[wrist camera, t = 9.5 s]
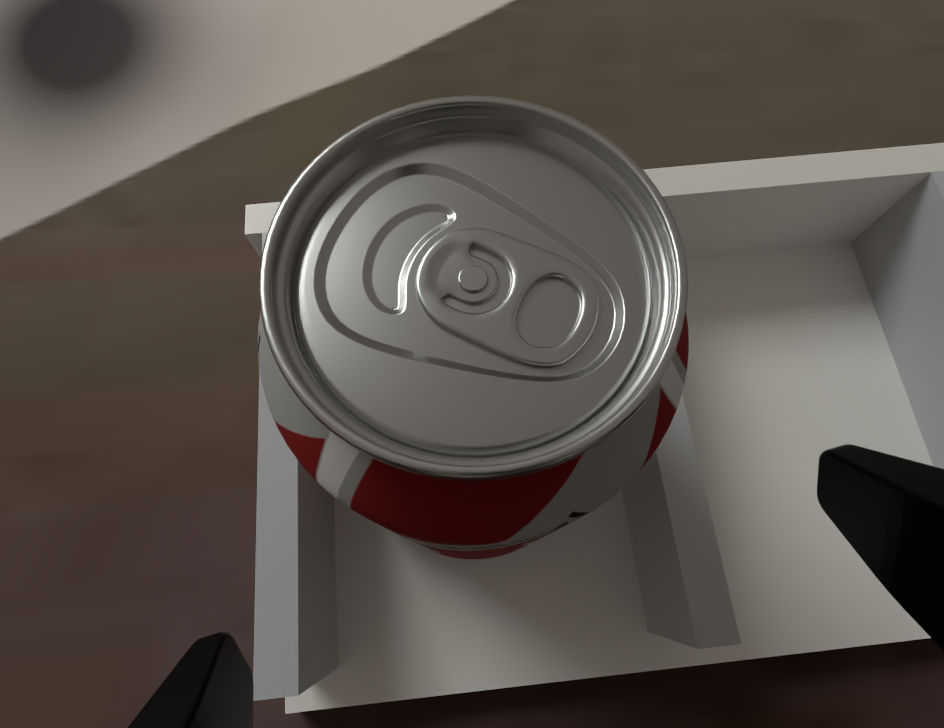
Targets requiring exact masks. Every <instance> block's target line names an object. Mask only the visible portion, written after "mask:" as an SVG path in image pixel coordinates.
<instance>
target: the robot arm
mask: <svg viewBox="0 0 944 728" xmlns="http://www.w3.org/2000/svg"><path fill="white" fill-rule="evenodd" d="M817 498H818V501H819V504H820V506H821V507H822V509H823V510H824V512H825V513H826V514H827V516H828V517H829V518H830V519H831V521H832V522H833V523H834V524H835V526H836V527H837V528H838V530H839V531H840V532H841V533H842V535H843V536H844V537H845V538H846V540H847V541H848V542H849V543H850V545H851V546H852V547H853V548H854V550H855V551H856V552H857V554H858V555H859V556H860V557H861V559H862V560H863V561H864V562H865V564H866V565H867V566H868V567H869V569H870V570H871V571H872V572H873V574H874V575H875V576H876V578H877V579H878V580H879V581H880V582H881V584H882V585H883V586H884V587H885V588H886V590H887V591H888V592H889V593H890V594H891V595H892V597H893V598H894V599H895V600H896V601H897V602H898V603H899V604H900V605H901V606H902V608H903V609H904V610H905V611H906V612H907V613H908V614H909V615H910V616H911V617H912V618H913V619H914V620H915V621H916V622H917V623H918V624H919V626H920V627H921V628H922V629H923V630H924V631H925V632H926V633H927V634H928V635H929V636H930V637H931V638H932V639H933V640H934V641H935V642H936V643H937V644H938V645H939V647H940V648H941V649H942V650H943V651H944V469H942V468H938V467H934V466H931V465H927V464H923V463H919V462H916V461H912V460H908V459H904V458H901V457H897V456H893V455H889V454H886V453H882V452H878V451H874V450H871V449H867V448H863V447H859V446H856V445H851V444H846V445H841V446H838V447H834V448H831V449H828V450H825V451H824V452H822V454H821V455H820V457H819V465H818V480H817ZM253 693H254V685H253V677H252V673H251V670H250V667H249V665H248V664H247V662H246V660H245V658H244V656H243V654H242V653H241V651H240V649H239V647H238V645H237V644H236V642H235V640H234V638H233V637H232V635H231V634H230V633H228V632H219V633H216V634H213V635H210V636H206V637H203V638H200V639H198V640H197V641H196V642H194V644H193V645H192V646H191V647H190V648H189V650H188V651H187V652H186V653H185V655H184V656H183V657H182V659H181V660H180V661H179V662H178V664H177V665H176V666H175V668H174V669H173V670H172V671H171V673H170V674H169V675H168V677H167V678H166V679H165V680H164V682H163V683H162V684H161V686H160V687H159V688H158V689H157V691H156V692H155V693H154V695H153V696H152V697H151V698H150V700H149V701H148V702H147V704H146V705H145V706H144V707H143V709H142V710H141V711H140V713H139V714H138V715H137V716H136V718H135V719H134V720H133V721H132V723H131V724H130V725H129V727H128V728H253Z"/></svg>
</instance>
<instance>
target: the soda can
mask: <svg viewBox="0 0 944 728" xmlns="http://www.w3.org/2000/svg"><path fill="white" fill-rule="evenodd" d="M687 296H688V278H687V266H686V259H685V253H684V249H683V245H682V241H681V237H680V234H679V231H678V229H677V226H676V223H675V220H674V218H673V216H672V214H671V212H670V210H669V208H668V206H667V204H666V202H665V200H664V198H663V197H662V195H661V194H660V192H659V190H658V189H657V187H656V186H655V184H654V183H653V182H652V181H651V179H650V178H649V177H648V175H647V174H646V173H645V172H644V170H643V169H642V168H641V167H640V166H639V165H638V164H637V163H636V162H635V161H634V160H633V159H632V158H631V157H630V156H629V155H628V154H627V153H626V152H625V151H624V150H622V149H621V148H620V147H619V146H618V145H616V144H615V143H614V142H612V141H611V140H610V139H608V138H607V137H606V136H604V135H603V134H601V133H600V132H598V131H596V130H595V129H593V128H592V127H590V126H588V125H586V124H584V123H583V122H581V121H579V120H577V119H575V118H573V117H571V116H568V115H566V114H563V113H561V112H558V111H556V110H553V109H550V108H547V107H544V106H541V105H538V104H533V103H529V102H525V101H521V100H515V99H509V98H502V97H491V96H456V97H444V98H438V99H431V100H426V101H421V102H417V103H413V104H409V105H406V106H403V107H400V108H397V109H393V110H390V111H388V112H386V113H383V114H381V115H378V116H376V117H374V118H372V119H370V120H368V121H366V122H364V123H362V124H360V125H358V126H356V127H355V128H353V129H352V130H350V131H348V132H347V133H345V134H344V135H342V136H341V137H339V138H338V139H337V140H335V141H334V142H333V143H331V144H330V145H329V146H327V147H326V148H325V149H324V150H323V151H322V152H321V153H320V154H319V155H318V156H316V157H315V158H314V159H313V160H312V161H311V162H310V163H309V165H308V166H307V167H306V168H305V169H304V170H303V171H302V172H301V173H300V175H299V176H298V177H297V179H296V180H295V181H294V183H293V184H292V185H291V187H290V188H289V190H288V191H287V193H286V195H285V196H284V198H283V199H282V201H281V203H280V205H279V207H278V209H277V211H276V213H275V215H274V217H273V219H272V222H271V225H270V227H269V230H268V233H267V235H266V239H265V243H264V247H263V251H262V256H261V263H260V270H259V301H260V318H259V326H258V360H259V370H260V375H261V381H262V386H263V390H264V393H265V397H266V400H267V403H268V406H269V409H270V412H271V414H272V416H273V419H274V421H275V423H276V426H277V428H278V430H279V431H280V433H281V435H282V437H283V438H284V440H285V442H286V444H287V446H288V447H289V449H290V450H291V451H292V453H293V454H294V455H295V457H296V458H297V460H298V461H299V462H300V464H301V465H302V466H303V467H304V468H305V470H306V471H307V472H308V473H309V474H310V475H311V476H312V477H313V478H314V479H315V481H316V482H318V483H319V484H320V485H321V486H322V487H323V488H324V489H325V490H326V491H328V492H329V493H330V494H331V495H332V496H333V497H335V498H336V499H337V500H339V501H340V502H342V503H343V504H344V505H346V506H347V507H349V508H350V509H351V510H353V511H355V512H357V513H358V514H360V515H362V516H364V517H365V518H367V519H369V520H371V521H372V522H374V523H376V524H378V525H380V526H382V527H384V528H386V529H388V530H390V531H392V532H394V533H396V534H398V535H400V536H402V537H403V538H405V539H407V540H409V541H411V542H413V543H415V544H417V545H419V546H421V547H423V548H425V549H427V550H430V551H432V552H434V553H437V554H440V555H444V556H448V557H453V558H459V559H487V558H493V557H498V556H502V555H506V554H509V553H512V552H514V551H516V550H519V549H521V548H523V547H525V546H527V545H529V544H531V543H533V542H535V541H537V540H539V539H541V538H543V537H545V536H547V535H549V534H551V533H552V532H554V531H556V530H558V529H560V528H562V527H564V526H566V525H568V524H570V523H572V522H574V521H576V520H578V519H579V518H581V517H583V516H585V515H586V514H588V513H590V512H592V511H593V510H595V509H596V508H598V507H599V506H601V505H602V504H603V503H605V502H606V501H608V500H609V499H610V498H612V497H613V496H614V495H616V494H617V493H618V492H619V491H620V490H621V489H622V488H623V487H624V486H626V485H627V484H628V483H629V482H630V481H631V480H632V479H633V478H634V477H635V476H636V474H637V473H638V472H639V471H640V470H641V469H642V468H643V467H644V466H645V464H646V463H647V462H648V460H649V459H650V457H651V456H652V455H653V453H654V452H655V450H656V449H657V448H658V446H659V445H660V443H661V441H662V439H663V438H664V436H665V434H666V432H667V430H668V429H669V427H670V424H671V422H672V420H673V417H674V415H675V413H676V410H677V408H678V404H679V401H680V398H681V395H682V391H683V388H684V383H685V378H686V372H687V365H688V353H689V336H688V322H687V315H686V308H687Z"/></svg>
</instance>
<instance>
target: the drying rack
mask: <svg viewBox="0 0 944 728" xmlns="http://www.w3.org/2000/svg"><path fill="white" fill-rule="evenodd" d="M644 172H645V173H646V174H647V175H648V177H649V178H650V179H651V181H652V182H653V183H654V184H655V186H656V187H657V189H658V190H659V192H660V194H661V195H662V197H663V198H664V200H665V202H666V204H667V206H668V208H669V210H670V212H671V214H672V216H673V218H674V220H675V223H676V226H677V229H678V231H679V234H680V237H681V241H682V245H683V249H684V253H685V259H686V266H687V278H688V296H687V308H686V315H687V322H688V336H689V353H688V365H687V372H686V378H685V383H684V388H683V391H682V395H681V398H680V401H679V404H678V408H677V410H676V413H675V415H674V417H673V420H672V422H671V424H670V427H669V429H668V430H667V432H666V434H665V436H664V438H663V439H662V441H661V443H660V445H659V446H658V448H657V449H656V450H655V452H654V453H653V455H652V456H651V457H650V459H649V460H648V462H647V463H646V464H645V466H644V467H643V468H642V469H641V470H640V471H639V472H638V473H637V474H636V476H635V477H634V478H633V479H632V480H631V481H630V482H629V483H628V484H627V485H626V486H624V487H623V488H622V489H621V490H620V491H619V492H618V493H617V494H616V495H614V496H613V497H612V498H610V499H609V500H608V501H606V502H605V503H603V504H602V505H601V506H599V507H598V508H596V509H595V510H593V511H592V512H590V513H588V514H586V515H585V516H583V517H581V518H579V519H578V520H576V521H574V522H572V523H570V524H568V525H566V526H564V527H562V528H560V529H558V530H556V531H554V532H552V533H551V534H549V535H547V536H545V537H543V538H541V539H539V540H537V541H535V542H533V543H531V544H529V545H527V546H525V547H523V548H521V549H519V550H516V551H514V552H512V553H509V554H506V555H502V556H498V557H493V558H487V559H459V558H453V557H448V556H444V555H440V554H437V553H434V552H432V551H430V550H427V549H425V548H423V547H421V546H419V545H417V544H415V543H413V542H411V541H409V540H407V539H405V538H403V537H402V536H400V535H398V534H396V533H394V532H392V531H390V530H388V529H386V528H384V527H382V526H380V525H378V524H376V523H374V522H372V521H371V520H369V519H367V518H365V517H364V516H362V515H360V514H358V513H357V512H355V511H353V510H351V509H350V508H349V507H347V506H346V505H344V504H343V503H342V502H340V501H339V500H337V499H336V498H335V497H333V496H332V495H331V494H330V493H329V492H328V491H326V490H325V489H324V488H323V487H322V486H321V485H320V484H319V483H318V482H316V481H315V479H314V478H313V477H312V476H311V475H310V474H309V473H308V472H307V471H306V470H305V468H304V467H303V466H302V465H301V464H300V462H299V461H298V460H297V458H296V457H295V455H294V454H293V453H292V451H291V450H290V449H289V447H288V446H287V444H286V442H285V440H284V438H283V437H282V435H281V433H280V431H279V430H278V428H277V426H276V423H275V421H274V419H273V416H272V414H271V412H270V409H269V406H268V403H267V400H266V397H265V393H264V390H263V386H262V381H261V375H260V370H259V419H258V469H257V520H256V570H255V621H254V671H253V685H254V693H253V701H256V700H265V699H273V698H282V697H285V714H287V713H296V712H304V711H313V710H321V709H330V708H339V707H347V706H356V705H364V704H373V703H381V702H390V701H398V700H407V699H415V698H424V697H432V696H441V695H449V694H458V693H466V692H475V691H484V690H492V689H501V688H509V687H518V686H526V685H535V684H543V683H552V682H560V681H569V680H577V679H586V678H594V677H603V676H612V675H620V674H629V673H637V672H646V671H654V670H663V669H671V668H680V667H688V666H697V665H705V664H714V663H722V662H731V661H739V660H748V659H757V658H765V657H774V656H782V655H791V654H799V653H808V652H816V651H825V650H833V649H842V648H850V647H859V646H867V645H876V644H884V643H893V642H902V641H910V640H919V639H927V638H931V637H930V636H929V635H928V634H927V633H926V632H925V631H924V630H923V629H922V628H921V627H920V626H919V624H918V623H917V622H916V621H915V620H914V619H913V618H912V617H911V616H910V615H909V614H908V613H907V612H906V611H905V610H904V609H903V608H902V606H901V605H900V604H899V603H898V602H897V601H896V600H895V599H894V598H893V597H892V595H891V594H890V593H889V592H888V591H887V590H886V588H885V587H884V586H883V585H882V584H881V582H880V581H879V580H878V579H877V578H876V576H875V575H874V574H873V572H872V571H871V570H870V569H869V567H868V566H867V565H866V564H865V562H864V561H863V560H862V559H861V557H860V556H859V555H858V554H857V552H856V551H855V550H854V548H853V547H852V546H851V545H850V543H849V542H848V541H847V540H846V538H845V537H844V536H843V535H842V533H841V532H840V531H839V530H838V528H837V527H836V526H835V524H834V523H833V522H832V521H831V519H830V518H829V517H828V516H827V514H826V513H825V512H824V510H823V509H822V507H821V506H820V504H819V501H818V498H817V480H818V465H819V457H820V455H821V454H822V452H824V451H825V450H828V449H831V448H834V447H838V446H841V445H846V444H851V445H856V446H859V447H863V448H867V449H871V450H874V451H878V452H882V453H886V454H889V455H893V456H897V457H901V458H904V459H908V460H912V461H916V462H919V463H923V464H927V465H931V466H934V467H938V468H942V469H944V143H936V144H925V145H914V146H902V147H891V148H880V149H869V150H858V151H846V152H835V153H824V154H813V155H802V156H790V157H779V158H768V159H757V160H746V161H734V162H723V163H712V164H701V165H689V166H678V167H667V168H656V169H645V170H644ZM280 203H281V202H275V203H264V204H253V205H246V212H245V235H246V237H247V238H248V240H249V241H250V243H251V244H252V246H253V247H254V249H255V250H256V252H257V253H258V255H259V256H260V257H261V256H262V251H263V247H264V243H265V239H266V235H267V233H268V230H269V227H270V225H271V222H272V219H273V217H274V215H275V213H276V211H277V209H278V207H279V205H280Z"/></svg>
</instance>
